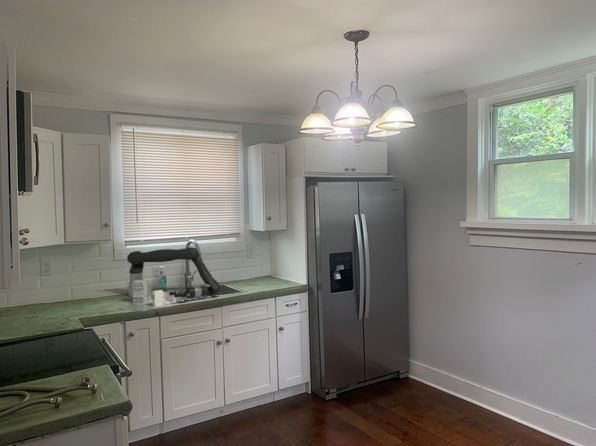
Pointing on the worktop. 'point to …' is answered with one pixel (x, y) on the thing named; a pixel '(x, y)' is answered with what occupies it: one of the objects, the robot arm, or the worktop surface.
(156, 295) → the breaker module
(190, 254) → the robot arm
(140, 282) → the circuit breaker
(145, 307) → the mounting plate
